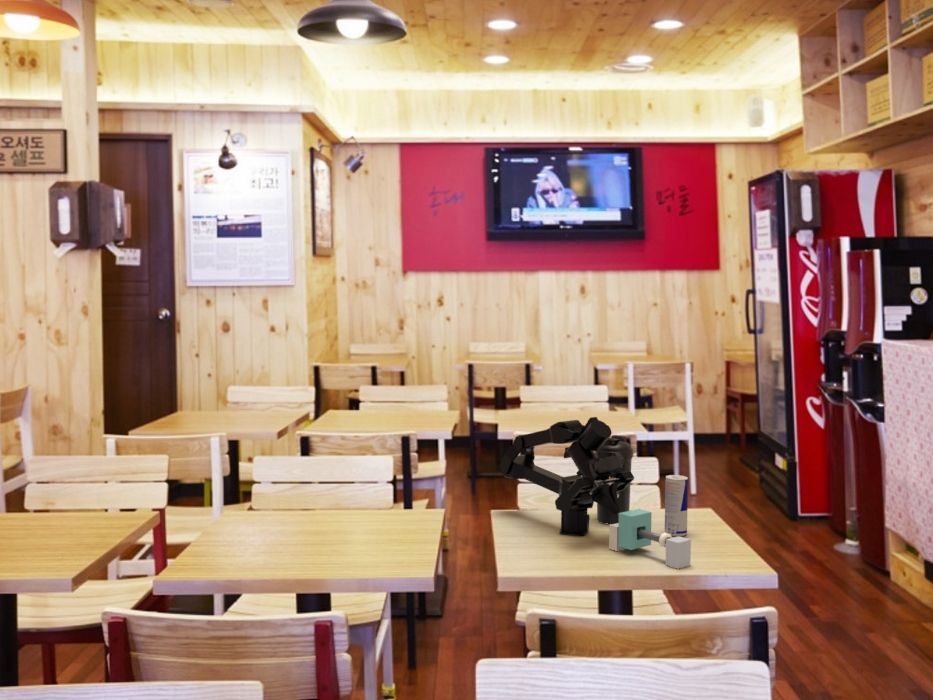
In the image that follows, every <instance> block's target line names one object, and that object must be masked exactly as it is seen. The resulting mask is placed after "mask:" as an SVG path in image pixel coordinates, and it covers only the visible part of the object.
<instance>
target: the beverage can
mask: <svg viewBox="0 0 933 700" xmlns="http://www.w3.org/2000/svg"><path fill="white" fill-rule="evenodd" d="M688 479H689V477H687V476H686V475H685V476H684V475H678V474H677V475H676V474H669V475H665V489H664V491H665V492H664V496H665V497H664V499H665V500H664V533H668V534H670V535H671V536H672V537H678V536H680V537H684V536H686V535H687V534H688V505H689V504H688V500H689V497H688V496H689V480H688Z"/></svg>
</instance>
